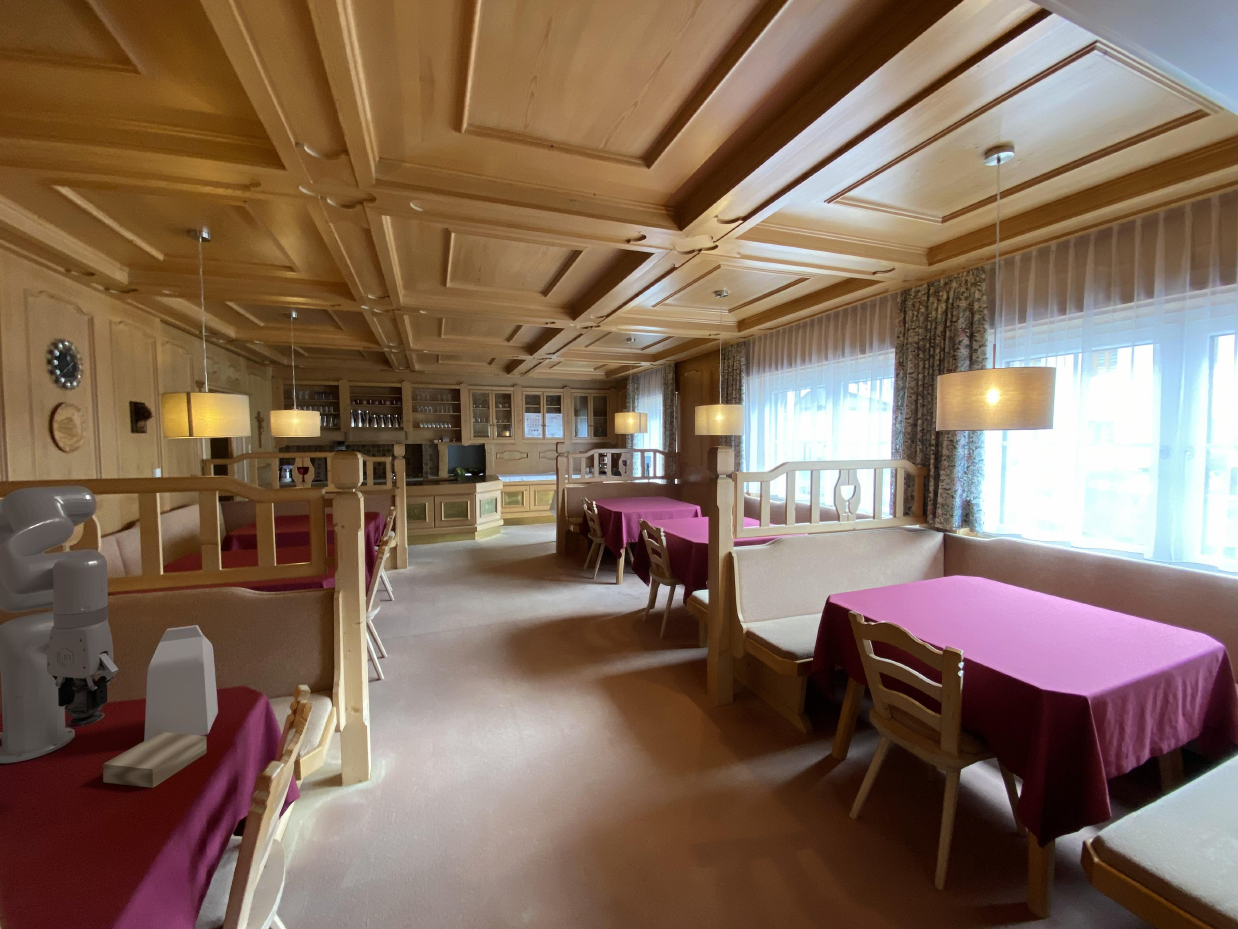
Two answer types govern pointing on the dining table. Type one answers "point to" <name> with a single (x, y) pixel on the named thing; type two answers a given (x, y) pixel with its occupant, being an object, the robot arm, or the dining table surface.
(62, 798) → the dining table surface
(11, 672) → the robot arm
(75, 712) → the black chess piece
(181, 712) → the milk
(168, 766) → the beech block
